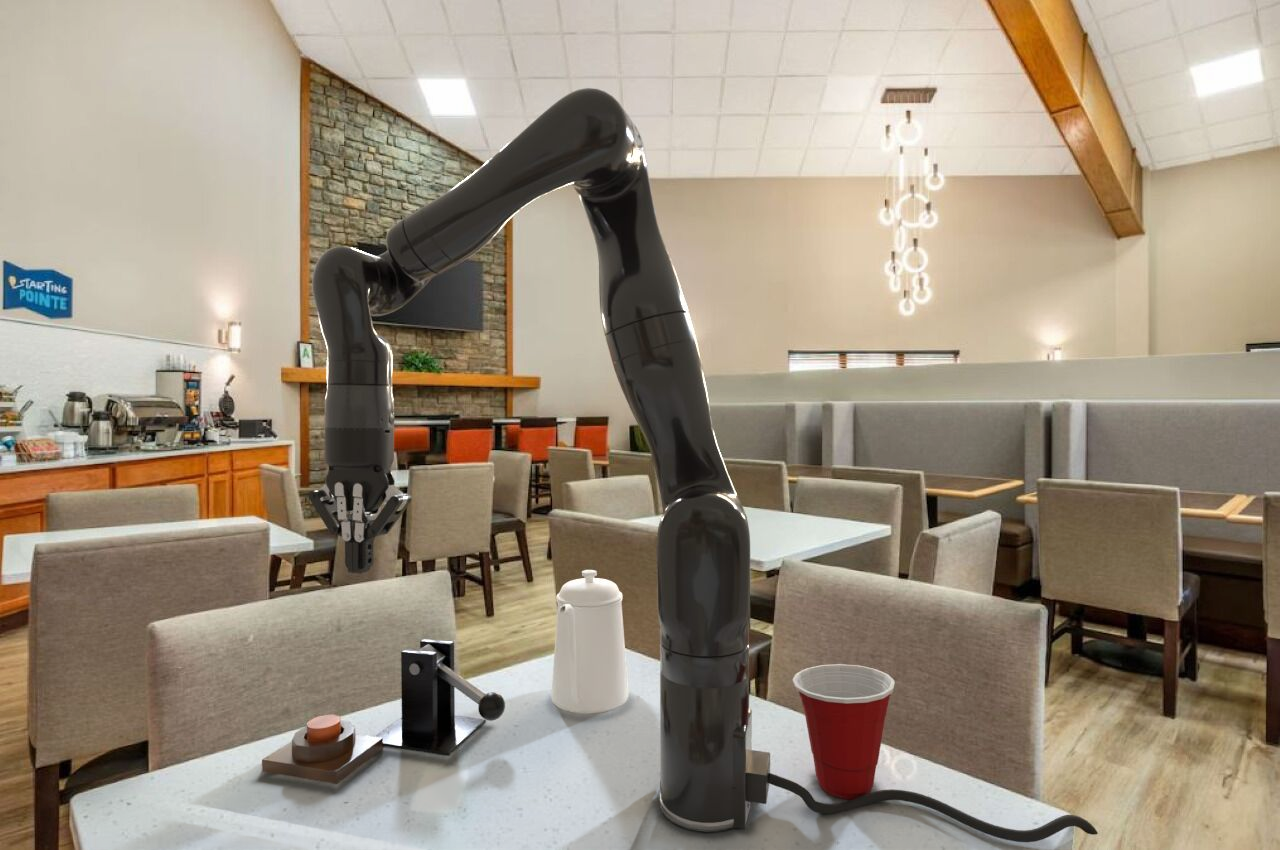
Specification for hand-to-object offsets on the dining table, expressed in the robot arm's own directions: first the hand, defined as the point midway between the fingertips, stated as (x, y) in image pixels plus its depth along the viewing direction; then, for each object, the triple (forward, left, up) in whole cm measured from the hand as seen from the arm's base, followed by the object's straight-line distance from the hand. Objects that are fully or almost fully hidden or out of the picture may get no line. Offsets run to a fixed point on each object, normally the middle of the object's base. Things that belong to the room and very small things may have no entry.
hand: (359, 571), depth 79 cm
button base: (+3, +2, -23) cm, 23 cm away
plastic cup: (-55, -10, -23) cm, 60 cm away
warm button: (+3, +2, -19) cm, 19 cm away
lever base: (-5, -7, -23) cm, 24 cm away
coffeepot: (-21, -22, -23) cm, 38 cm away
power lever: (-8, -7, -16) cm, 20 cm away
